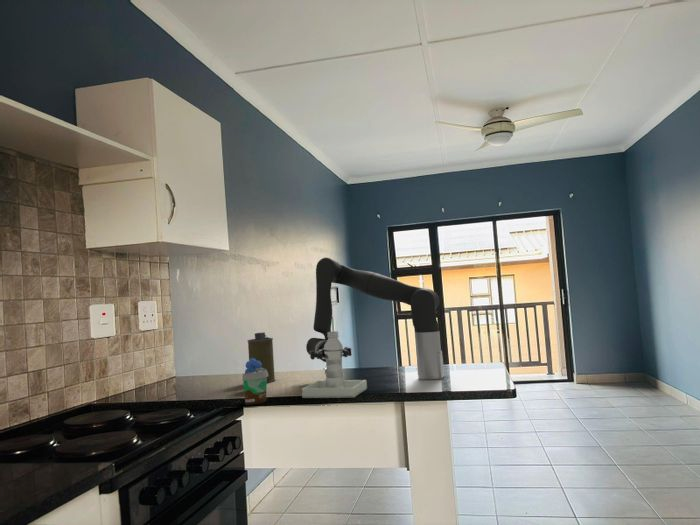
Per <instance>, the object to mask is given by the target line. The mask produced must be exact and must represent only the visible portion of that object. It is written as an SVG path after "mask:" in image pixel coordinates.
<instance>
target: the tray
mask: <svg viewBox="0 0 700 525" xmlns="http://www.w3.org/2000/svg"><path fill="white" fill-rule="evenodd" d="M344 381H345V386H344V388H326V385H325V382H326V380H317V381H315V382H312V383H311V384H308V385H306V386H305V387H302V388H301V398H302V399H313V398H314V399H318V398H319V399H323V398H324V399H329V398H330V399H331V398H332V399H334V398H335V399H337V398H338V399H342V398H343V399H345V398H346V399H351V398H354V399H355V398H356V397H357V396H358V395H360V394H362V393H363V392H365V391H366V390H368V383H367V379H352V380H351V379H349V380H347V379H344Z"/></svg>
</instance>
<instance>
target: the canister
mask: <svg viewBox="0 0 700 525" xmlns="http://www.w3.org/2000/svg"><path fill="white" fill-rule="evenodd" d="M273 340H274V338H273V337H269V336H267V335H266V333H265V332H256V333H254V338H252V339H247V345H248V361H250V359H251V358H254V359H255V360H256V361H257V360H258V361H260V362H261V364H262V366H261V367H262V368H264V369H266V370H267V372H268V375H269V376H268V377H267V384H271V383H274V382H275V381H276V378H275V361H274V360H275V359H274V347H273V346H274V343H273Z"/></svg>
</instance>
